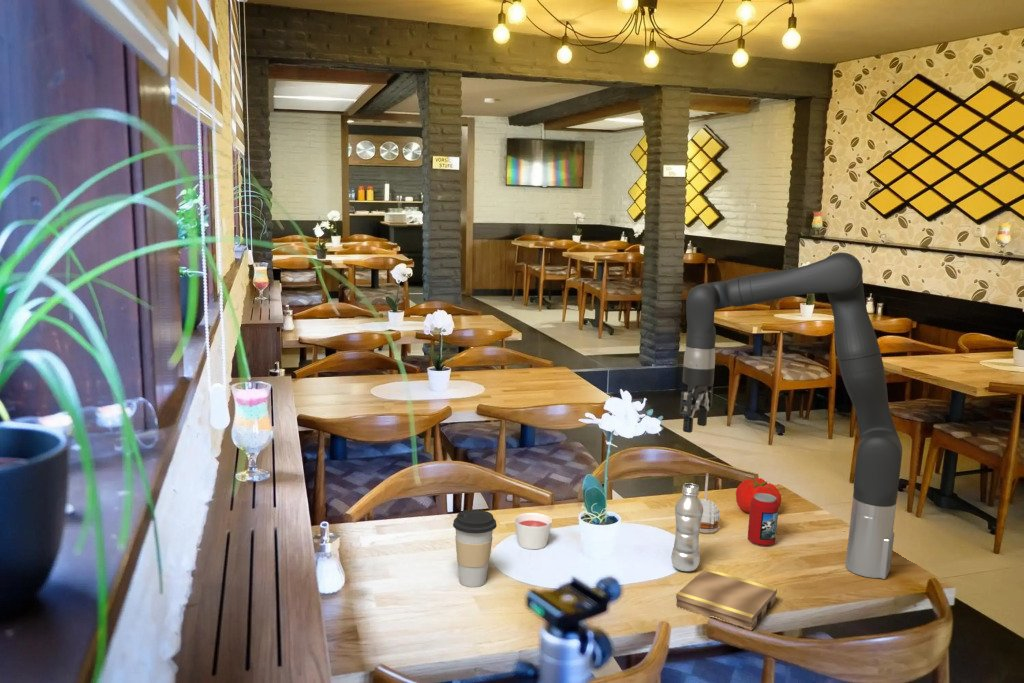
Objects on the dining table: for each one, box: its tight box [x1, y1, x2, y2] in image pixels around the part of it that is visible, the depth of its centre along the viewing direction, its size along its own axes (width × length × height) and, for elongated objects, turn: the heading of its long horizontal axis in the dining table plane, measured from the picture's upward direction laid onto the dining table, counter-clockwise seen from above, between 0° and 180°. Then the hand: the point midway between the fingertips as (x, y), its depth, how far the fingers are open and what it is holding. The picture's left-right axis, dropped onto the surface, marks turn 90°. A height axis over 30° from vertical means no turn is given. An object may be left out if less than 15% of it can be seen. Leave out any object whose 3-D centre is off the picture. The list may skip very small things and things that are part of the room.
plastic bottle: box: [670, 482, 703, 572], centre depth 189 cm, size 6×7×20 cm
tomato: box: [735, 477, 782, 514], centre depth 228 cm, size 13×12×8 cm
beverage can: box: [747, 493, 780, 547], centre depth 206 cm, size 7×7×12 cm
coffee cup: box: [452, 509, 498, 588], centre depth 179 cm, size 9×9×15 cm
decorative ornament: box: [699, 473, 721, 534], centre depth 214 cm, size 8×8×15 cm
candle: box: [514, 512, 553, 550], centre depth 201 cm, size 9×9×6 cm
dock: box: [675, 567, 778, 629], centre depth 173 cm, size 16×16×3 cm
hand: (694, 428), depth 206 cm, fingers open, 8 cm apart
